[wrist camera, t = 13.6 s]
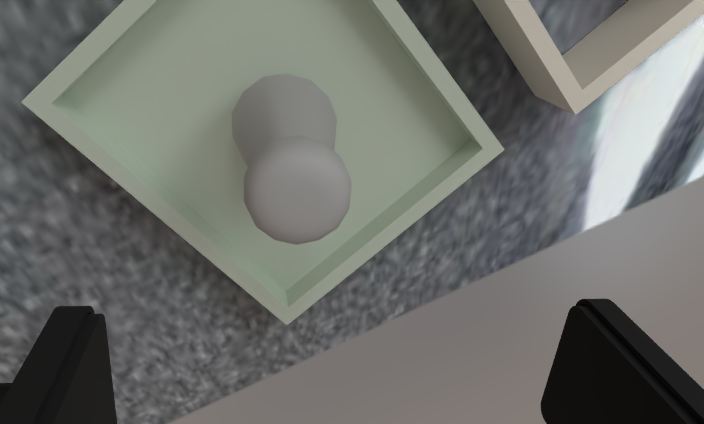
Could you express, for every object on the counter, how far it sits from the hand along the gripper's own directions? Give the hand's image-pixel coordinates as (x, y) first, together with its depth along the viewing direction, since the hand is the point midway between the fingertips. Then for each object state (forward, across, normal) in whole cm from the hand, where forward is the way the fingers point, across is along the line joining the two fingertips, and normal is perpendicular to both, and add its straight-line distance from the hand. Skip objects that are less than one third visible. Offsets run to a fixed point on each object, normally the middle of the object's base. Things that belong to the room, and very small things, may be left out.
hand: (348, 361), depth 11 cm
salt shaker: (+24, 0, +1) cm, 24 cm away
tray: (+24, 0, +1) cm, 24 cm away
